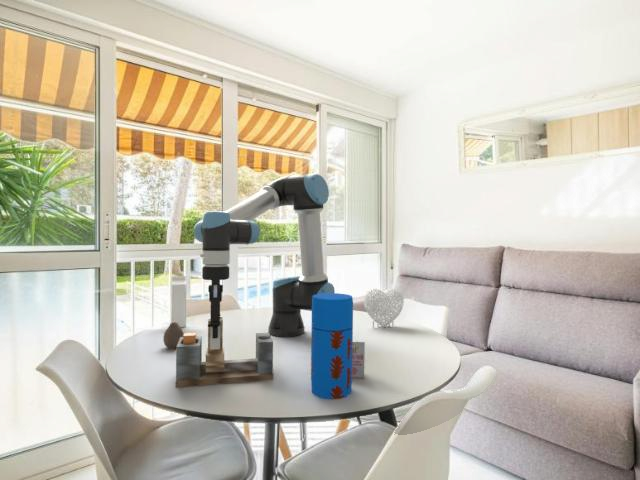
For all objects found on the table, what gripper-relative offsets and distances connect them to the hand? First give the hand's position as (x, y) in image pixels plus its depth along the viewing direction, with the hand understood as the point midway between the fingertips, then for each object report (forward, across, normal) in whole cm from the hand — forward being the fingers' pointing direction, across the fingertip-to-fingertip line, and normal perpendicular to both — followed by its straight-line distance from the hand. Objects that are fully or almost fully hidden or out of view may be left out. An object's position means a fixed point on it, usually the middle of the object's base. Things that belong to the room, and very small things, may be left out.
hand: (215, 345), depth 110 cm
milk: (+9, -65, -17) cm, 68 cm away
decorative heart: (+9, -46, +72) cm, 86 cm away
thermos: (+9, +17, +30) cm, 36 cm away
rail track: (+9, 0, +3) cm, 9 cm away
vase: (+9, -32, -15) cm, 36 cm away
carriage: (+7, 0, 0) cm, 7 cm away
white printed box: (+9, +8, +39) cm, 41 cm away
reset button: (-1, 0, -7) cm, 7 cm away
